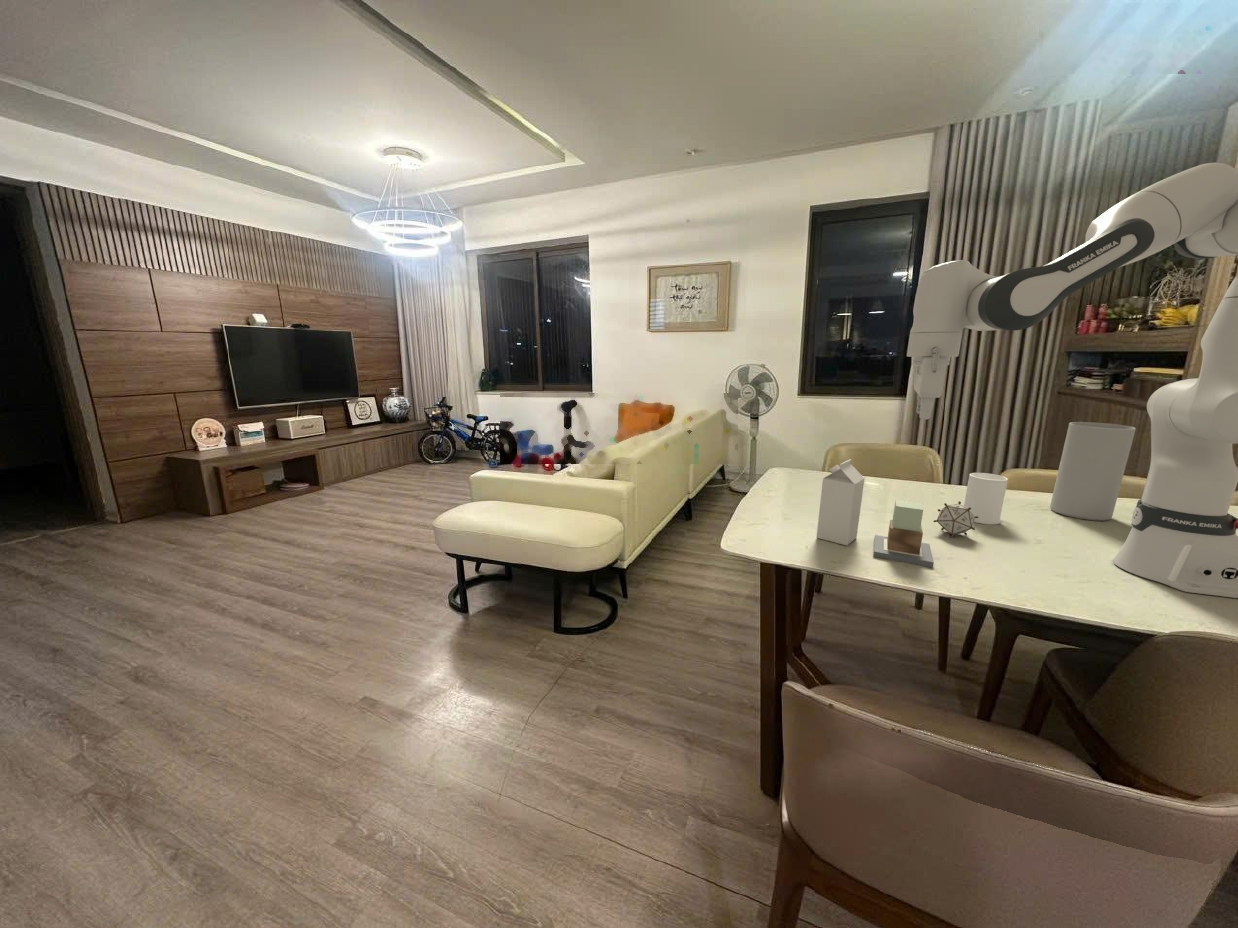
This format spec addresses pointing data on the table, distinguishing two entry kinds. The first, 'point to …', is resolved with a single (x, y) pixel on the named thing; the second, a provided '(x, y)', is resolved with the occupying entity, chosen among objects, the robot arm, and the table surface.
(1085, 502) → the cylinder vase
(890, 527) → the walnut block
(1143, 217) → the robot arm
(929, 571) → the table surface
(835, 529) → the milk carton
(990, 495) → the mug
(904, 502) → the sage cube
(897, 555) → the board
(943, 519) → the game die
